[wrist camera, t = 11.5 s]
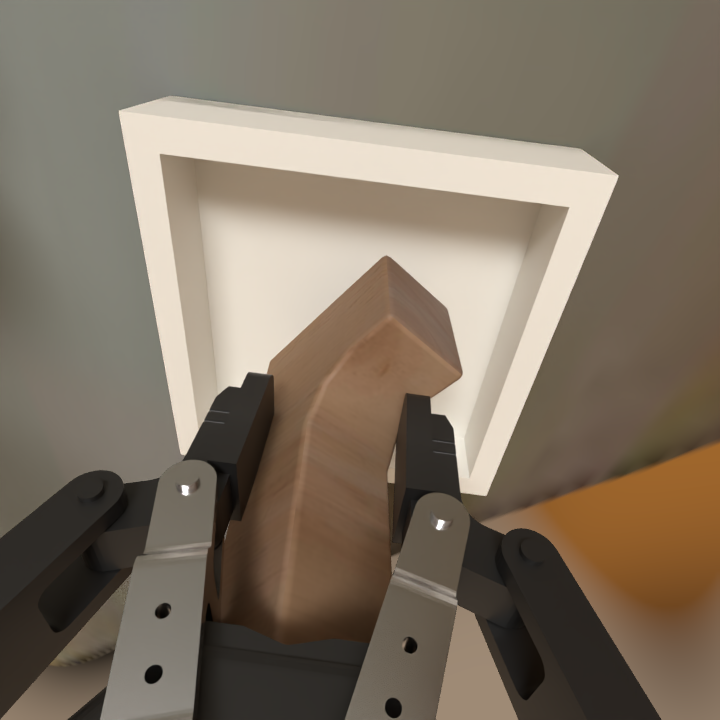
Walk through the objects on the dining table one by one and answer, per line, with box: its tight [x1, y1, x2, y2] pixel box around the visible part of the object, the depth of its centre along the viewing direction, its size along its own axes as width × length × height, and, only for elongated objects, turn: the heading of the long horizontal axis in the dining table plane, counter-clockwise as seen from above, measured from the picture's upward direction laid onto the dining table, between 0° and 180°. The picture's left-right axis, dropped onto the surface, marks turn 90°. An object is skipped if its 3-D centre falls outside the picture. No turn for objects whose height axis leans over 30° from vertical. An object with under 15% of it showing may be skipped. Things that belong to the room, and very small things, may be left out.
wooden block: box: [221, 255, 463, 645], centre depth 12 cm, size 7×3×15 cm, turn 136°
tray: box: [119, 96, 619, 496], centre depth 18 cm, size 14×14×4 cm
